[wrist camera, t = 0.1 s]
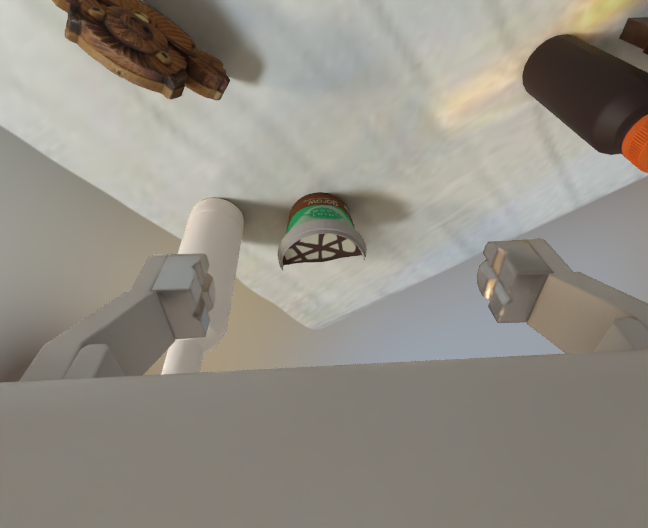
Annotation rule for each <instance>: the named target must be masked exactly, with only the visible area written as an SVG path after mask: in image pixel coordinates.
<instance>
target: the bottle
mask: <svg viewBox="0 0 648 528" xmlns="http://www.w3.org/2000/svg"><path fill="white" fill-rule="evenodd" d="M243 229H244V218H243V215H242V213H241V211H240V210H239V209H238V208H237V206H235V205H233V204H232V203H230V202H229V201H226V200H223V199H220V198H209V199H205V200H202V201H200V202H199V203H197V204H196V205H195V206H194V208H193V210H192V212H191V215H190V216H189V219H188V221H187V227H186V230H185V233H184V236H183V239H182V242H181V245H180V248H179V251H178V254H202V253H204V254H205V255H206V256H207V258H208V262H209V269H208V272H207V273H208V274H209V275H211V276H212V277H213V281H214V286H215V302H214V306H213V309H212V310H210V311H209V312H208V314H209V317H210V322H209V326H208V330H207V334H206V337H202V338H189V339H175V342H174V343H173V344H172V345H171V346H170V347H169V348H168V352H167V356H166V359H165V363H164V366H163V370H162V373H161V374H180V373H199V372H200V368H201V363H202V358H203V354H205V353H207V352H209V351H211V350H213V349H215V348H216V346H217V345H218V344H219V342H220V341H221V339H222V338H223V336H224V334H225V332H226V331H227V326H228V320H229V313H230V307H231V301H232V295H233V288H234V282H235V276H236V270H237V263H238V257H239V251H240V245H241V240H242V237H243Z"/></svg>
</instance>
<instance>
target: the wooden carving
mask: <svg viewBox="0 0 648 528" xmlns="http://www.w3.org/2000/svg"><path fill="white" fill-rule="evenodd" d="M52 1H53V2H54V3H55V4H56V6H58V7H59V8H61V9H62V10H64V11H66V12H67V13H68V20H67V24H66V30H65V37H66V38H67V39H68V40H69V41H72V42H74V43H77V44H78V45H79V46H80V47H81V48H82V49H83V50H84V51H85V52H86V53H87V54H88V55H90V56H91V57H92V58H94V59H95V60H96V61H98V62H99V63H101V64H102V65H103V66H104V67H106V68H107V69H108V70H110V71H111V72H113V73H114V74H116V75H118V76H119V77H122V78H124V79H126V80H128V81H129V82H131V83H133V84H136V85H138V86H141V87H144V88H146V89H149V90H152V91H156V92H159V93H162V94H163V95H164V96H165V97H166V98H168V99H173V98H178V97H180V96H181V95H182V92H183V90H184V87H185V86H186V87H187V88H189V89H191V90H192V91H194V92H196V93H198V94H200V95H202V96H204V97H206V98H211V99H214V100H220V99H221V97H222V95H223V93H224V91H225V89H226V88H227V86H228V84H229V82H230V79H229V77H228V76H227V75H226V70H225V69H224V68H223V64H222V62H221V61H220V60H219V59H217V58H215V57H214V56H212V55H210V54H207V53H205V52H203V51H201V50H198V49H195V44H194V42H193V40H192V39H190V38H189V36H188V35H187V34H186V33H184V32H183V31H182V30H181V29H180V28H179V27H177V26H176V25H175V24H174V23H173V22H171V21H170V20H169V19H167V18H166V17H164V16H163V15H162V14H160V13H158V12H157V11H156V10H154V9H152V8H150V7H149V6H148V5H145V4H144V3H142V2H141V1H139V0H52Z"/></svg>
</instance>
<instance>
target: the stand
mask: <svg viewBox="0 0 648 528" xmlns="http://www.w3.org/2000/svg"><path fill="white" fill-rule="evenodd" d="M619 39H621V40H623V41H626V42H628V43H630V44H633V45H635V46H637V47H639V48H642V49H644V50H643V53H645V54H647V55H648V18H629V19H628V21H627V23H626V25H625V27H624V29H623V31H622V33H621V36H620V38H619Z"/></svg>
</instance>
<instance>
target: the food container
mask: <svg viewBox="0 0 648 528" xmlns="http://www.w3.org/2000/svg"><path fill="white" fill-rule="evenodd" d="M366 250H367V249H366V244H365V242H364V239H363V238H362V236H361V235H360V234H359V233H358V232H357V231H356V230H355V227H354V224H353V221H352V218H351V215H350V213H349V210H348V208H347V206H346V205H345V203H344V202H343V201H341V200H340V199H339V198H338V197H336V196H333V195H331V194H328V193H313V194H309V195H306V196H304V197H302V198H301V199H299V200H298V201H297V202H296V203H295V204H294V206H293V207H292V209H291V211H290V215H289V220H288V226H287V231H286V235H285V236H284V238H283V239H282V241H281V243H280V245H279V249H278V260H279V264H280V267H282V270H283V265H289V264H293V263H302V262H324V261H329V260H333V259H337V258H342V257H350V256H358V255H362V256H363V259H364V257H366ZM364 260H365V259H364Z"/></svg>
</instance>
